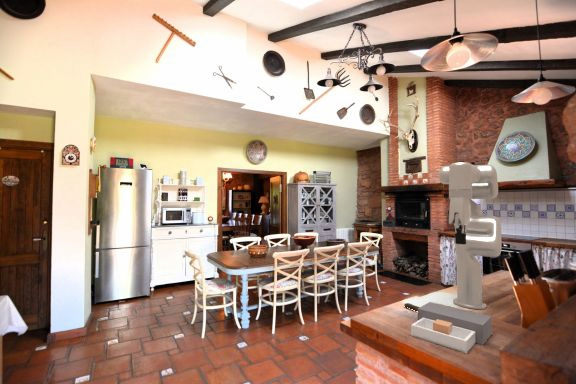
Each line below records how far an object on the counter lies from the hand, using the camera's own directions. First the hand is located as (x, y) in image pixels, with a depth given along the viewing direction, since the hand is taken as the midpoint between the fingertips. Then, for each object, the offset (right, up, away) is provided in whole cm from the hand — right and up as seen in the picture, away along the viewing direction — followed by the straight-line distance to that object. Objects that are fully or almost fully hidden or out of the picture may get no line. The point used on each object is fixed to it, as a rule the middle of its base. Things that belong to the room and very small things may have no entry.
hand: (460, 243), depth 111 cm
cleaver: (-4, -30, +5) cm, 31 cm away
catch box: (-15, -28, -16) cm, 36 cm away
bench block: (-7, -29, -8) cm, 30 cm away
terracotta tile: (-16, -25, -17) cm, 34 cm away
